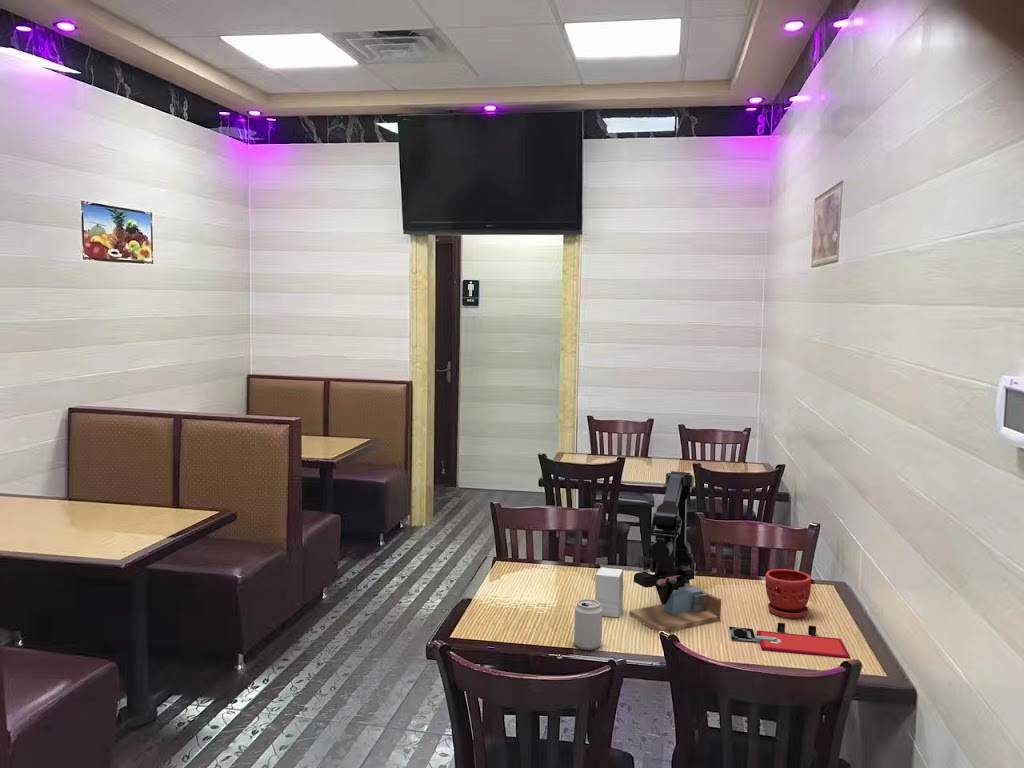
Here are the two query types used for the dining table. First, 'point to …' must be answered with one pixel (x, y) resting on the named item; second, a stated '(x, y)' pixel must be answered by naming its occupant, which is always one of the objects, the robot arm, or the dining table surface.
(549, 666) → the dining table surface
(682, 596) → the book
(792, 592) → the plant pot
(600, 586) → the supplement box
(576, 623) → the can
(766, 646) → the red board with handle
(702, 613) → the shelf
